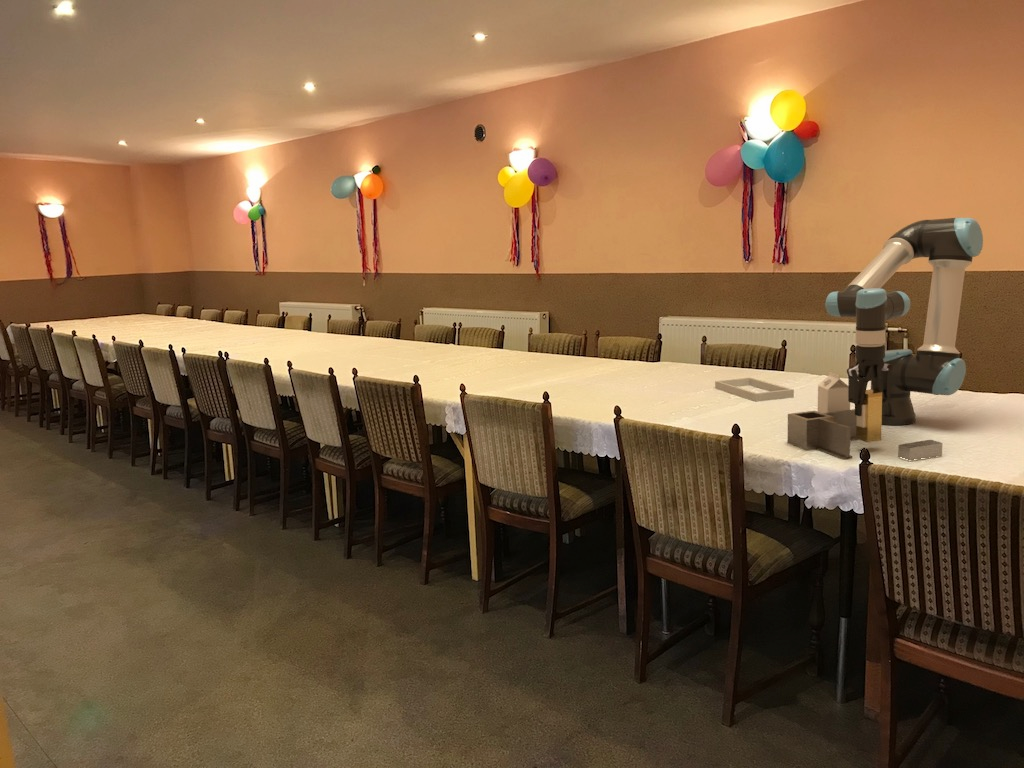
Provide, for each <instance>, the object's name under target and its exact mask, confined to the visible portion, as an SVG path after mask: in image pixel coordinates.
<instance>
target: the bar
mask: <svg viewBox="0 0 1024 768" xmlns="http://www.w3.org/2000/svg"><path fill="white" fill-rule="evenodd" d="M897 446H898V449H897V458H898V457H902V458H905V459H908V460H914V459H921V458H928V459H930V458H929V457H934V458H937V457H936V456H940V457H943V442H941V441H937V440H933V439H926V440H920V441H914V442H908V443H907V442H906V443H900V444H898V445H897Z"/></svg>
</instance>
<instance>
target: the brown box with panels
mask: <svg viewBox="0 0 1024 768" xmlns="http://www.w3.org/2000/svg"><path fill="white" fill-rule="evenodd" d="M856 418H857V415H855V408H853V409H850V410H845V411H837V412H829V413H820V412H818V410H817V411H816V410H808V411H800V412H793V413H787V444H789V445H792V446H795V447H797V448H799V449H802V450H805V451H811V450H818V451H820V452H823V453H825V454H828V455H830V456H834V457H836V458H838V459H841V460H842V461H843V460H849V459H850V460H851V459H853V457H854V456H853V455H851V442H852V441H860V440H859V439H856Z"/></svg>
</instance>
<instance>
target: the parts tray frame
mask: <svg viewBox="0 0 1024 768" xmlns="http://www.w3.org/2000/svg"><path fill="white" fill-rule="evenodd" d="M745 386H751V387H754V388H756V389H757V388H758V389H761V390H765V392H755V391H751V390H748V389H745V388H742V387H745ZM714 389H716V390H719V391H722V392H724V393H725V392H726V393H728V394H731V395H734V396H737V397H741V398H744V399H746V400H750V401H752V402H755V403H756V402H765V401H766V402H767V401H772V400H773V401H774V400H783V399H791V398H792V399H793V398H794V395H795V390H794V389H793V388H790V387H787V386H783V385H779V384H776V383H775V384H774V383H772V382H768V381H764V380H761V379H756V378H754V377H743V378H735V379H734V378H733V379H724V380H715V382H714Z"/></svg>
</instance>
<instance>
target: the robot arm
mask: <svg viewBox="0 0 1024 768" xmlns="http://www.w3.org/2000/svg"><path fill="white" fill-rule="evenodd" d="M983 237H984V236H983V230H982V228H981V225H980V224H979V222H978V221H977V220H976V219H974V218H972V217H948V218H938V219H937V218H934V219H922V220H918V221H915V222H912V223H910V224H908V225H906V226H904V227H903V228H901V229H899V230H898V231H897V232H894V234H892V235H891V236H890V237H889V238H888V239H887V240H886V241H885V242H884V244H883V246H882V250H881V251H880V252H879V253H878V254H877V255H876V256H875V258H873V259H872V260H871V261H870V262H869V264H867V265H866V266H865V267H864V268H863V269H862V271H860V273H859V274H858V275H857V276H855V278H854V279H853V280H851V282H850V283H849V284H848V285H847V286H846V287H845V288H844V289H843V290H842V291H840V290H837V291H832V292H830V293H828V295H827V297H826V298H825V304H824V306H825V309H826V312H827V314H828V315H829V316H832V317H839V318H855V344H857V345H855V355H854V356H855V358H856V363H855V365H854V367H852V368H849V367H848V368H846V374H847V376H848V377H847V378H848V384H847V385H848V401H849V402H850V404H854V409H855V415H857V424H856V426H859V427H862V428H864V427H865V414H866V405H864V404H863V402H864V397H865V393H866V390H867V387H868V383H869V382H870V389H871V390H875V391H879V392H882V425H885V426H886V425H887V426H904V425H905V426H906V425H910V424H914V423H916V417H917V416H916V412H915V411H914V405H913V403H912V399H911V393H913V392H914V393H921V394H929V395H935V396H952V395H954V394H955V393H957V392H958V390H959V389H960V388H961V387H962V384H963V383H964V379H965V377H966V374H967V367H966V362H965V360H964V359H962V358H960V353H961V352H960V351H959V350H958V349H957V347H956V340H957V333H958V326H959V319H960V318H959V317H960V310H961V305H962V304H961V303H962V296H963V294H962V293H963V288H964V286H963V285H964V281H965V272H966V269H967V268H969V266H970V265H972V263H973V258H976V257H977V256H979V255H980V254H981V252H982V250H983V246H984V238H983ZM918 258H928V261H927V262H928V264H929V265H930V266H931V267H932V273H931V274H932V275H931V281H930V283H931V284H930V289H929V296H928V306H927V314H926V321H925V329H924V336H923V344H922V345H921V346H920V347H918V348H917V349H916V355H915V354H914V353H913V350H911V349H909V348H907V349H906V348H905V349H903V348H902V349H889V350H886V345H885V344H886V332H887V331H886V322H887V321H888V320H893V319H898V318H900V317H903V316H905V315H906V314H907V313H908V312H909V311H910V308H911V299H910V298H909V296H908V294H907V293H905V292H902V291H899V290H895V291H894V290H893V291H889V292H887V291H886V290H885V289H884V288H882V287H883V286H884V285H886V283H887V282H888V281H889V279H891V278H892V277H893V276H894V275H895V273H896V272H897V271H899V270H900V268H901V267H902V266H904V265H907V264H910V262H911V261H913V260H914V259H918Z"/></svg>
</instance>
